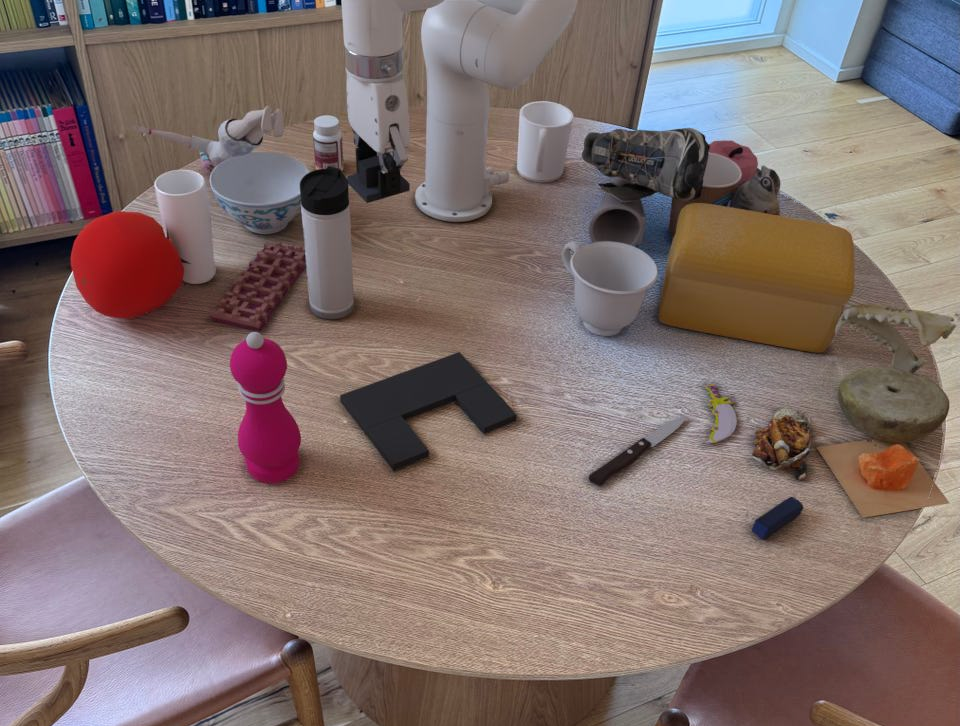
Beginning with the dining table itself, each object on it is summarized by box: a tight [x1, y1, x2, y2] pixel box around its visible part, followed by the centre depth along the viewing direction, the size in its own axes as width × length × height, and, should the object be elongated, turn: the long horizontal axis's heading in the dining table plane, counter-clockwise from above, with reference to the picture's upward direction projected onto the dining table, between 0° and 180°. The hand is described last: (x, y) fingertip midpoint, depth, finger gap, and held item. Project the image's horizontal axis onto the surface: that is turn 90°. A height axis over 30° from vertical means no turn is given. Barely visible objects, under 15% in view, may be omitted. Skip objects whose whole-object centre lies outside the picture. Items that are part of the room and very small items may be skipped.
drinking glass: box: [153, 169, 217, 285], centre depth 131 cm, size 7×7×15 cm
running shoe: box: [581, 127, 710, 211], centre depth 141 cm, size 12×28×12 cm
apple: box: [708, 140, 759, 201], centre depth 157 cm, size 10×9×10 cm
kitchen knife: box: [588, 415, 687, 487], centre depth 118 cm, size 18×1×2 cm
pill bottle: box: [312, 114, 344, 172], centre depth 156 cm, size 5×5×8 cm
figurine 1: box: [131, 105, 285, 174], centre depth 143 cm, size 29×6×30 cm
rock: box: [815, 438, 951, 519], centre depth 116 cm, size 12×12×4 cm
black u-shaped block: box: [339, 351, 518, 472], centre depth 120 cm, size 18×14×1 cm
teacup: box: [561, 240, 659, 337], centre depth 132 cm, size 12×15×10 cm
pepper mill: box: [229, 331, 302, 484], centre depth 105 cm, size 7×7×20 cm
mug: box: [516, 100, 574, 184], centre depth 158 cm, size 11×9×10 cm
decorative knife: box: [704, 383, 738, 444], centre depth 123 cm, size 12×1×5 cm
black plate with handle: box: [346, 153, 411, 204], centre depth 134 cm, size 7×6×4 cm
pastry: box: [751, 407, 812, 481], centre depth 119 cm, size 7×12×4 cm, turn 163°
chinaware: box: [209, 151, 311, 235], centre depth 144 cm, size 15×15×8 cm
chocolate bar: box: [209, 240, 306, 333], centre depth 135 cm, size 7×19×2 cm, turn 165°
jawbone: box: [835, 303, 957, 375], centre depth 127 cm, size 12×13×8 cm
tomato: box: [70, 210, 191, 320], centre depth 127 cm, size 16×14×14 cm
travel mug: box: [300, 166, 355, 320], centre depth 126 cm, size 6×7×20 cm
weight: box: [837, 365, 950, 444], centre depth 123 cm, size 14×14×5 cm
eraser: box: [751, 496, 804, 540], centre depth 111 cm, size 2×2×7 cm
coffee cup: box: [668, 152, 742, 241], centre depth 147 cm, size 10×10×12 cm
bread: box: [657, 203, 855, 354], centre depth 133 cm, size 24×13×15 cm, turn 78°
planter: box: [588, 177, 647, 247], centre depth 154 cm, size 8×9×26 cm
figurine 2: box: [729, 165, 781, 216], centre depth 145 cm, size 9×19×10 cm
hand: (378, 181), depth 135 cm, fingers closed on black plate with handle, 6 cm apart
